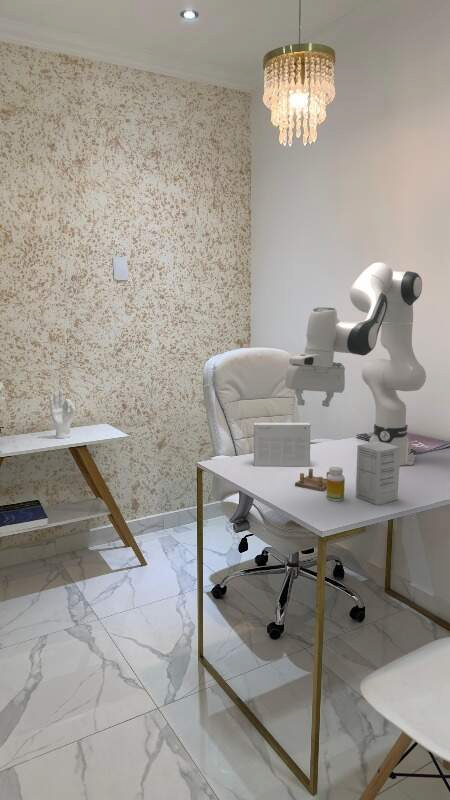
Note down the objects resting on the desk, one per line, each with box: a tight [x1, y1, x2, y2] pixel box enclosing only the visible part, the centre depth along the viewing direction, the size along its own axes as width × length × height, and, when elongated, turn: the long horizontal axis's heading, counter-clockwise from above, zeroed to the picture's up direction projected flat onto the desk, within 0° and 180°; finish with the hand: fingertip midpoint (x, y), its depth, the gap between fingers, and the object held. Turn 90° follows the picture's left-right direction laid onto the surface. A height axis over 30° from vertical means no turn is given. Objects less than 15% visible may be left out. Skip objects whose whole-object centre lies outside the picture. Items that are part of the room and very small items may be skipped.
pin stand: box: [294, 468, 330, 492], centre depth 186 cm, size 10×10×4 cm
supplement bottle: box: [325, 466, 346, 502], centre depth 172 cm, size 5×5×10 cm
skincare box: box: [253, 422, 311, 467], centre depth 208 cm, size 21×5×16 cm, turn 88°
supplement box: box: [355, 442, 400, 506], centre depth 171 cm, size 10×9×17 cm
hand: (313, 405), depth 169 cm, fingers open, 8 cm apart
